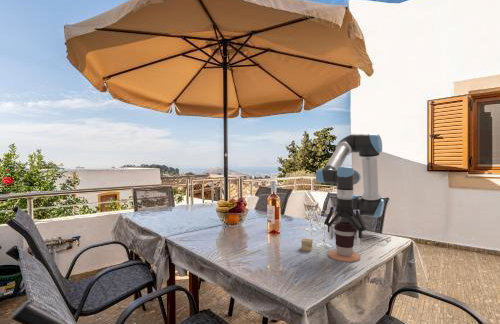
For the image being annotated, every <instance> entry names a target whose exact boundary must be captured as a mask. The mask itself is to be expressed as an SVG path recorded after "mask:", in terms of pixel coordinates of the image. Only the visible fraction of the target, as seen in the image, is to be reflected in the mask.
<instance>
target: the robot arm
mask: <svg viewBox="0 0 500 324" xmlns="http://www.w3.org/2000/svg"><path fill="white" fill-rule="evenodd" d="M382 152H383V141H382V138H381V135H380V134H379V133H375V132H374V133H373V132H369V133H352V134H349V135H347V136H345V137H343V138H342V139H340V140H339V141H338V143H337V144H336V146H335V150H334V152H333V153H332V155H331V157H330V158H329V160H328V161H327V162H326V164H325V166H324V168H318V169H317V170H316V172H315V180H316V182H318V183H322V184H335V185H336V197H337V198H336V207H335V206H331V207H330V208H329V213H328V214H327V216H326V219H325V220H324V224H323V225H326V226H327V232H328V233H329V237H328V239H329V240H330V241H331V240H333V239H334V225H333V224H334V223H335V222H336V221H337V220H338V219H339V220H338V222H348V223H351V224H352V225H353V226H354V227H356V231H355V232H354V233H356V244H355V245H356V246H360V245H361V239H362V238H363V232H365V231H366V230H367V227H366V224H365V222H364V219H363V217H362V216H365V217H371V218H372V217H373V218H380V217H381V216H382V215H383V212H384V209H385V208H384V207H385V200H384V199H383V198H382V195H381V194H379V181H378V180H379V179H378V177H379V176H378V158H379V156H380V153H382ZM352 153H358V156H359V158H361V166H362V167H361V168H362V177H361V173H360V172H359V171H358V170H355V169H354V167H353V166H342V165H343V164H344V162H345V161H346V159H347V157H348V156H350V155H351V154H352ZM361 178H362V185H363V194H361V197H360V195H359V194H354V185H356V184H358V183H359V182H360V180H361ZM335 211H336V214H335V216H333V215H334V213H335ZM332 216H333V218H332Z"/></svg>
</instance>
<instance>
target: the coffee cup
mask: <svg viewBox="0 0 500 324" xmlns="http://www.w3.org/2000/svg"><path fill="white" fill-rule="evenodd" d="M333 230H334V231H335V232H334V233H335V235H334V236H335V247H336V248H335V249H336V251H337V254H339V255H342V256H351V255H352V251H354V250H353V249H354V248H353V247H354V244H355V233H356V232H355V231H356V227H354V226H353V225H352V224H351V223H348V222H339V221H338V222H337V224H335V225H333Z"/></svg>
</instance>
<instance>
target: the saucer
mask: <svg viewBox="0 0 500 324" xmlns="http://www.w3.org/2000/svg"><path fill="white" fill-rule="evenodd" d="M327 252H328V253H327V255H328V258H330V259H332V260H334V261H338V262H344V263H354V262H359V261H360V260H361V257H362V256H361V254H360V253H358V252H356V251H354V250H353V251H352V255H351V256H342V255H339V254H337V251H336V248H335V249H330V250H328V251H327Z"/></svg>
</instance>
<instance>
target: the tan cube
mask: <svg viewBox="0 0 500 324" xmlns="http://www.w3.org/2000/svg"><path fill="white" fill-rule="evenodd" d="M300 245H301V251H308V252H312V250H313V238H308V237H307V238H304V237H303V238H302V239H301V244H300Z"/></svg>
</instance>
